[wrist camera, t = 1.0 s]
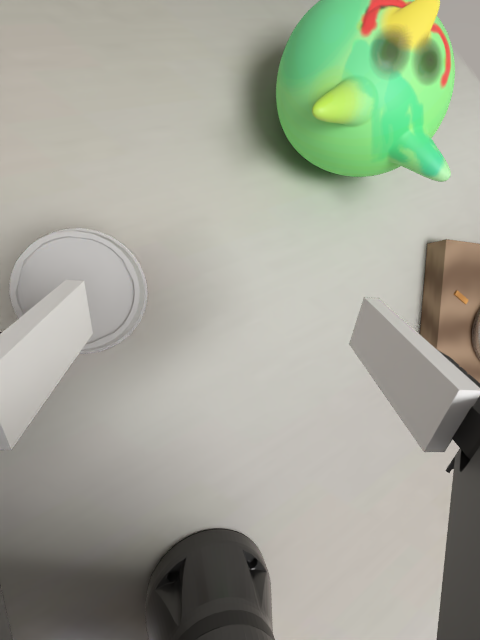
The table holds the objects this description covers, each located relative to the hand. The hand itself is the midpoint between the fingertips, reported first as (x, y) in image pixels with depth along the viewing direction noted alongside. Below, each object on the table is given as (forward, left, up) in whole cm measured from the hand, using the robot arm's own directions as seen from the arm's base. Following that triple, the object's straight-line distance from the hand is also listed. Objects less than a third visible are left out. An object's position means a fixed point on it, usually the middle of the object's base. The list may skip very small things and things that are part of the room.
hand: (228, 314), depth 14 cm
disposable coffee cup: (+1, +9, -22) cm, 24 cm away
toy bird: (+23, -16, -22) cm, 35 cm away
